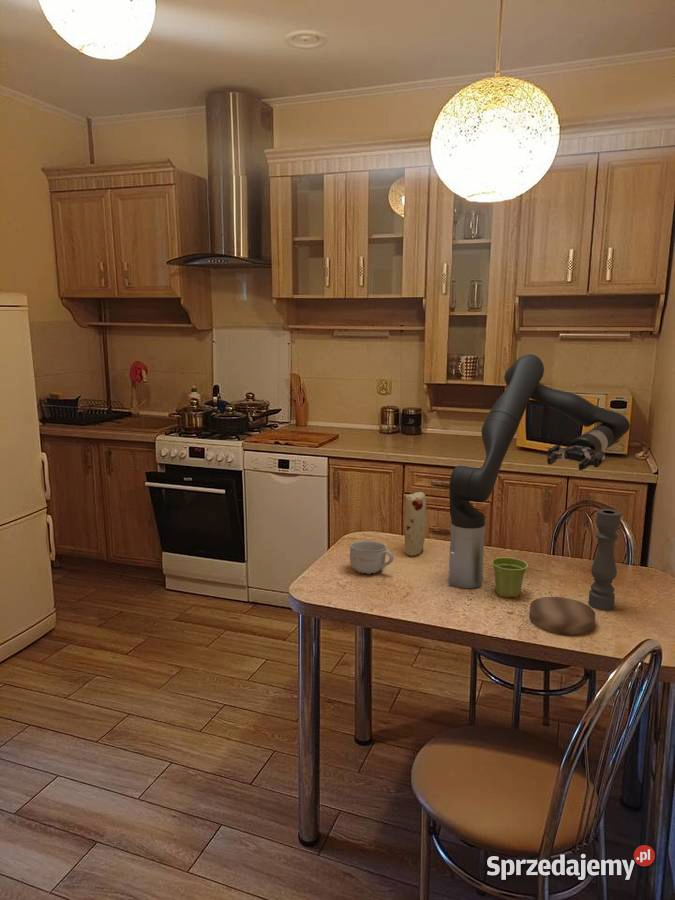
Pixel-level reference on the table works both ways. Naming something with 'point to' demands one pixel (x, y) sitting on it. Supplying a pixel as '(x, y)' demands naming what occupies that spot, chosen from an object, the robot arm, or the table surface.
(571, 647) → the table surface
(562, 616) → the walnut plinth
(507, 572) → the plant pot
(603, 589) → the candle holder
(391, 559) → the teacup
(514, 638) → the table surface
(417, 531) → the food model
